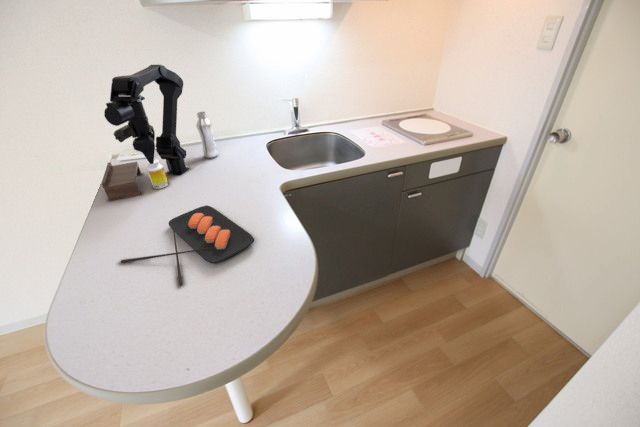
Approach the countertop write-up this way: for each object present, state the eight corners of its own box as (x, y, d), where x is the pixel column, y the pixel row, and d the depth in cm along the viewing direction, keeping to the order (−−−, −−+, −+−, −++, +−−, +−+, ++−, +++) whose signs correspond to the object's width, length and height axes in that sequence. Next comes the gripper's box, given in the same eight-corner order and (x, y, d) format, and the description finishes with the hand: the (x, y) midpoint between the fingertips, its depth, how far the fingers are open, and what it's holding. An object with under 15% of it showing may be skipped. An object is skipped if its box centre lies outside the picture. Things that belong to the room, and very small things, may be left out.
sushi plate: (259, 245, 88) (257, 234, 86) (151, 306, 70) (146, 294, 68) (208, 208, 105) (206, 198, 103) (112, 250, 88) (106, 239, 86)
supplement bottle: (171, 185, 120) (163, 161, 114) (156, 190, 117) (147, 165, 111) (165, 181, 123) (157, 157, 118) (150, 186, 120) (141, 161, 114)
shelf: (114, 178, 126) (107, 162, 123) (141, 173, 130) (135, 158, 126) (109, 201, 111) (101, 183, 107) (140, 194, 114) (133, 177, 111)
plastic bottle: (221, 154, 145) (212, 111, 134) (211, 160, 140) (201, 115, 129) (211, 152, 147) (201, 110, 136) (201, 158, 142) (189, 114, 131)
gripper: (112, 113, 110) (128, 154, 118) (107, 127, 96) (125, 173, 104) (147, 108, 114) (160, 149, 122) (146, 122, 99) (161, 167, 108)
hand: (151, 159), depth 114 cm, fingers open, 9 cm apart
